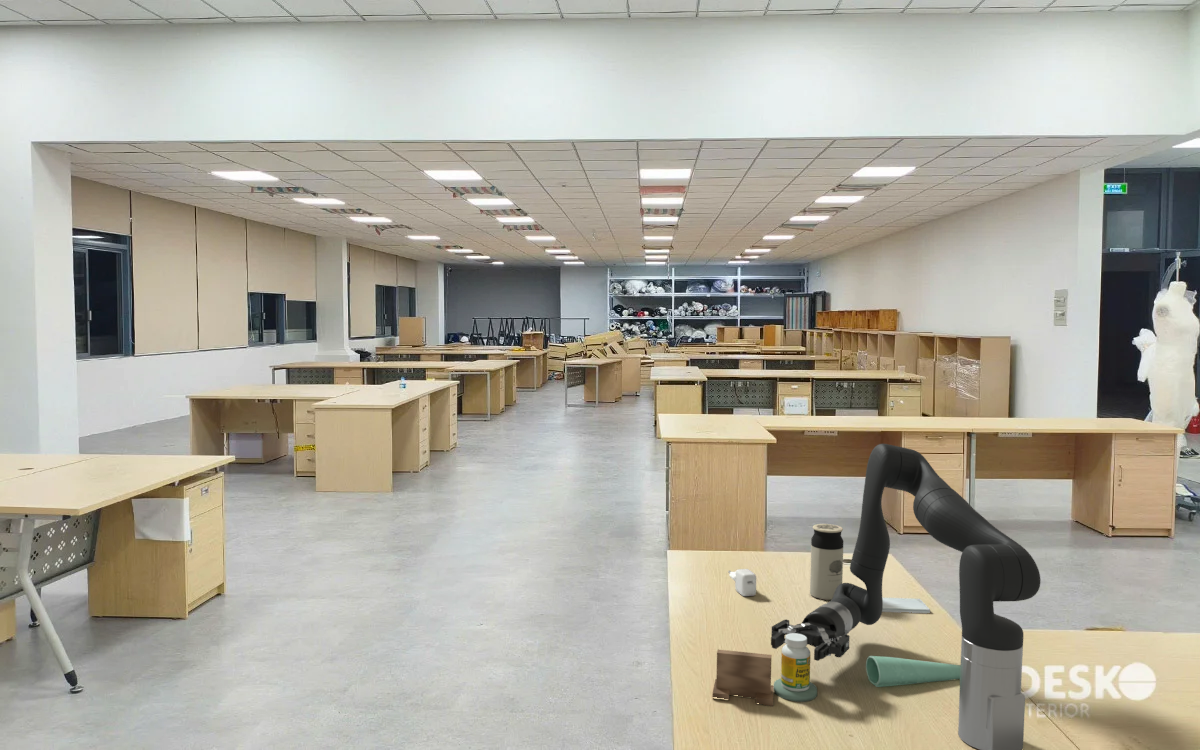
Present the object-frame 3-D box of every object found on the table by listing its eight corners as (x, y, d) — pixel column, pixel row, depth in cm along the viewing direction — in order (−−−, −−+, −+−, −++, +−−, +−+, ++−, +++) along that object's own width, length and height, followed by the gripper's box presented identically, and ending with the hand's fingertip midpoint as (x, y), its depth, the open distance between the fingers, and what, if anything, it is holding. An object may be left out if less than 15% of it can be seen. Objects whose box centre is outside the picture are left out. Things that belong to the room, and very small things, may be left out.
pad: (824, 699, 148) (824, 694, 148) (784, 703, 146) (784, 698, 146) (805, 680, 156) (805, 675, 156) (766, 684, 154) (766, 679, 154)
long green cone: (1005, 654, 157) (879, 662, 152) (1004, 681, 157) (879, 690, 152) (987, 643, 162) (865, 651, 157) (986, 670, 162) (864, 678, 158)
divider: (773, 691, 151) (774, 650, 150) (772, 706, 145) (773, 663, 145) (715, 685, 153) (716, 644, 153) (712, 699, 148) (713, 657, 147)
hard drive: (919, 598, 202) (869, 595, 203) (930, 609, 194) (878, 607, 195) (919, 604, 202) (869, 602, 203) (930, 615, 194) (877, 613, 195)
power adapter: (724, 584, 214) (725, 562, 214) (741, 583, 216) (742, 561, 215) (741, 597, 204) (741, 575, 203) (758, 596, 205) (759, 574, 204)
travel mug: (804, 591, 209) (806, 523, 208) (833, 589, 210) (835, 522, 209) (818, 601, 201) (819, 531, 200) (847, 600, 203) (849, 530, 201)
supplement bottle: (794, 677, 155) (795, 629, 154) (815, 688, 150) (817, 638, 150) (774, 684, 152) (775, 635, 151) (795, 695, 147) (797, 644, 147)
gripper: (795, 599, 167) (760, 621, 154) (863, 614, 158) (831, 639, 145) (795, 634, 167) (759, 658, 154) (861, 651, 158) (830, 679, 146)
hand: (794, 649), depth 150 cm, fingers open, 8 cm apart
